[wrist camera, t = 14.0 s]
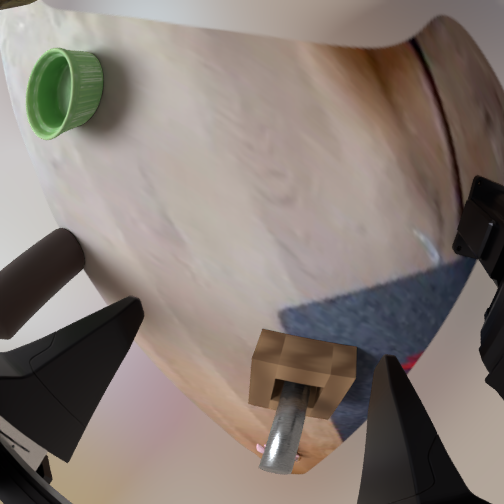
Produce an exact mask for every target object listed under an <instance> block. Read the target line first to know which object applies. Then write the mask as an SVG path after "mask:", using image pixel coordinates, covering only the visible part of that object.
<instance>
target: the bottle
mask: <svg viewBox="0 0 504 504" xmlns="http://www.w3.org/2000/svg"><path fill="white" fill-rule="evenodd" d="M84 264H85V263H84V255H83V251H82V249H81V247H80V245H79V243H78V241H77V240H76V238H75V237H74V236H73V235H72V234H71V233H70V232H69V231H67V230H66V229H63V228H59V229H56V230H54V231H53V232H52V233H50V234H49V235H47V236H46V237H44V238H43V239H42V240H40V241H39V242H37V243H36V244H35V245H33V246H32V247H30V248H29V249H28V250H26V251H25V252H24V253H22V254H21V255H20V256H19V257H17V258H16V259H15V260H13V261H12V262H11V263H10V264H8V265H7V266H6V267H5V268H3V269H2V270H1V271H0V339H7V340H8V339H11V338H12V337H13V336H14V335H15V334H16V332H18V330H19V329H20V328H21V327H22V326H23V325H24V324H25V323H26V322H27V321H28V320H29V319H30V318H31V317H32V316H33V315H34V314H35V313H36V312H37V311H38V310H39V309H40V308H41V307H42V306H43V305H44V304H45V303H46V302H47V301H48V300H49V299H50V298H51V297H53V296H54V295H55V294H56V293H57V292H58V291H59V290H60V289H61V288H62V287H63V286H64V285H66V283H68V282H69V281H70V280H71V279H72V278H73V277H74V276H76V275H77V274H78V273H79V272H80V271H81V270H82V269H83V268H84Z"/></svg>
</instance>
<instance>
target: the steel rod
mask: <svg viewBox="0 0 504 504" xmlns="http://www.w3.org/2000/svg"><path fill="white" fill-rule="evenodd" d="M310 391H311V385H306V384H300V383H295V382H290V381H286V380H285V381H284V385H283V389H282V393H281V396H280V400H279V403H278V407H277V410H276V414H275V417H274V421H273V424H272V427H271V431H270V434H269V437H268V441H267V444H266V447H265V450H264V453H263V456H262V459H261V463H260V465H259V468H260V469H262V470H264V471H267V472H271V473H276V474H291V473H292V469H293V465H294V461H295V458H296V454H297V450H298V446H299V442H300V437H301V433H302V429H303V424H304V420H305V415H306V411H307V406H308V401H309V396H310Z"/></svg>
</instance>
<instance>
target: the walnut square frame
mask: <svg viewBox="0 0 504 504" xmlns="http://www.w3.org/2000/svg"><path fill="white" fill-rule="evenodd" d="M356 359H357V347H354V346H348V345H342V344H336V343H330V342H325V341H319V340H314V339H308V338H303V337H298V336H293V335H288V334H284V333H279V332H274V331H270V330H265V329H262V332H261V335H260V338H259V340H258V343H257V346H256V349H255V351H254V354H253V357H252V364H251V377H250V389H249V402H248V404H251V405H255V406H259V407H264V408H268V409H272V410H277V407H278V403H279V400H280V396H281V393H282V389H283V385H284V381H285V380H286V381H290V382H295V383H300V384H306V385H311V391H310V396H309V401H308V406H307V411H306V415H305V416H308V417H314V418H320V419H327V420H328V419H329V418H330V416H331V415H332V414H333V412H334V411H335V409H336V408H337V406H338V405H339V404H340V402H341V401H342V399H343V398H344V396H345V395H346V393H347V391H348V390H349V388H350V387H351V385H352V384H353V382H354V380H355V379H356Z"/></svg>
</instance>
